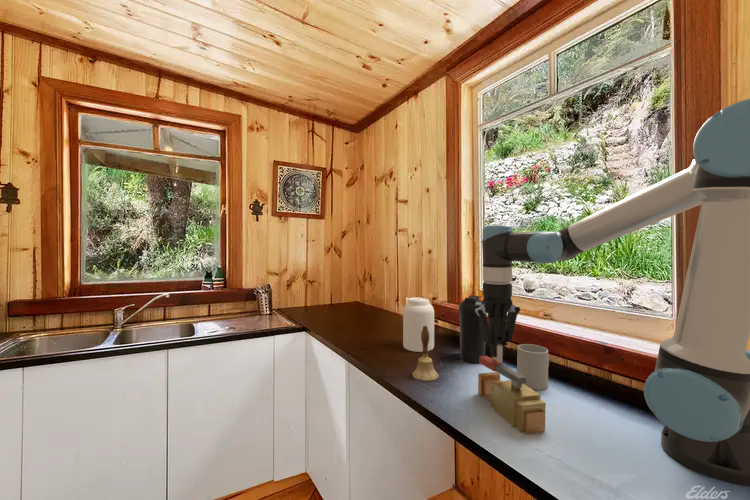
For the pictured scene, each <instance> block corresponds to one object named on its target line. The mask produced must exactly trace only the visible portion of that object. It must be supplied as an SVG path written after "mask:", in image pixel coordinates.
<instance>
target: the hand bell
mask: <svg viewBox="0 0 750 500" xmlns="http://www.w3.org/2000/svg"><path fill="white" fill-rule="evenodd" d="M421 340H422V344H423V352H422V356H421V357H419V358H418V359H417V366H416V369H415V370H414V371H413V372H412V375H411V376H412V377H413V379H416V380H418V381H422V382H431V381H435V380H438V378H439V373H438V372H437V371H436V370H435V368H434V363H433V359H432V358H431V357H429V351H428V343H429V331H428V328H427V326H423V329H422V333H421Z"/></svg>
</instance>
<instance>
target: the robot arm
mask: <svg viewBox="0 0 750 500" xmlns="http://www.w3.org/2000/svg"><path fill="white" fill-rule="evenodd" d="M692 147H693V148H692V150H693V154H692V155H693V157H694V159H692V162H691V163H690V166H689V167H688V168H686V169H685V168H684V169H683V170H681V171H679V172H677V173H675V174H673V175H670V176H669V177H667V178H664V179H663V180H661V181H659V182H657V183H655V184H651V186H648V187H647V188H644V189H642V190H640V191H637V192H635V193H634V194H631V195H630V196H628V197H625V198H623V199H621V200H619V201H617V202H615V203H613V204H610V205H609V206H607V207H605V208H603V209H601V210H599V211H596V212H595V213H592V214H591V215H588V216H586V217H583V218H582V219H580V220H578V221H575V222H574V223H571V224H570V225H568V226H565V227H563V228H561V229H559V230H557V231H547V230H546V231H543V230H539V231H521V232H520V231H518V232H515V231H513V227H512V225H510V224H497V225H493V224H492V225H485V226H484V228H483V229H482V240H481V244H482V247H481V248H482V281H484V282H483V283H482V298H483V299H482V305H481V306H480V307H479V308H475V309H474V312H475V313H476V315H477V316H478V320H479V325H480V329H481V333H482V337H483V341H485V342H486V343H487V344H488V345H489V354H490V356H491V358H492V359H494V360H496V361H498V362H500V363H502V364H503V357H504V356H505V354H506V351H505V348H506V347H507V346H508V343H512V341H513V340H512V339H513V335H514V330H515V326H516V321H517V319H518V318H517V317H518V315H519V313H520V311H521V308H520V306H516V305H515V304H514V303H513V300H512V297H513V284H512V283H511V282H512V281H513V262H522V263H523V262H524V263H537V264H553V263H556V262H567V261H569V260H572V259H575V258H577V257H578V256H579V255H580V254H582V253H584V252H586V251H589V250H591V249H594V248H596V247H598V246H601V245H603V244H606V243H608V242H610V241H613V240H616V239H619V238H621V237H623V236H625V235H628V234H631V233H634V232H636V231H639V230H641V229H642V228H645V227H647V226H651V225H654V224H655V223H658V222H660V221H664V220H665V219H668V218H670V217H673V216H675V215H677V214H681V213H683V212H686V211H688V210H690V209H693V208H696V207H697V206H700V210H699V216H698V219H697V224H696V229H695V234H694V238H693V244H692V247H691V248H692V249H691V253H690V257H689V262H688V267H687V271H686V276H685V281H684V285H683V291H682V296H681V300H680V305H679V309H678V314H677V318H676V323H675V329H674V332H673V336H672V337H669V338H668V339H664V340H663V341H661V342H660V343H659V344H660V345H659V348H658V353H657V358H656V362H655V368H654V371H652V372H651V373H650V375H648V376H647V379H645V383H644V386H643V396H644V399H645V402H646V404H647V407H648V408H649V409H650V411H651V412H652V413H653V415H655V417H656V418H657V420H659V421H660V423H662V424H663V425H664V426H663V428H662V430H661V436H660V444H661V448H662V449H663V451H665V453H667V454H668V455H669V457H671V458H673V459H674V460H675V461H677V462H678V463H680V464H681V465H683V466H685V467H687V468H688V469H690V470H693V471H695V472H697V473H699V474H702V475H705V476H707V477H709V478H712V479H715V480H717V481H721V482H725V483H729V484H732V485H733V484H734V485H737V486H741V487H742V486H743V487H750V349H747V348H748V343H749V341H750V98H747V99H744V100H743V99H742V100H741V101H740V100H739V101H738V102H734V103H732V104H730V105H728V106H726V107H724V108H722V109H720V111H717V112H716V113H715V114H713V115H712V116H710V117H709V118H708V119H707V120H706V121H705V122H704V123H703V124H702V126H701V127H700V128H699V129H698V130H697V133H696V135H695V138H694V141H693V146H692ZM485 310H486V312H487V318H486V316H485V314H486V312H485ZM486 343H485V344H486Z"/></svg>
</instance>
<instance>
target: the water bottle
mask: <svg viewBox="0 0 750 500" xmlns="http://www.w3.org/2000/svg"><path fill="white" fill-rule="evenodd" d="M480 298H482V296H480V295H468V297H465V298H464V299H463V300H461V302H460V303H459V304H458V312H459V343H460V344H459V345H460V346H459V349H460V350H459V351H460V352H459V354H460V360H461V362H463V363H466V364H474V365H478V364H480V363H479V357H480V356H486V342H485V341H483V337H482V333H481V329H480V325H479V320H478V316H477V315H476V313H475V312H474V309H475V308H479V307H480V306H481V305H482V301H483V299H482V300H481V299H480ZM485 312H486V310H485ZM485 316H486V318H487V319H488V313H487V312H486V314H485ZM480 365H481V364H480Z"/></svg>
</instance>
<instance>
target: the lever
mask: <svg viewBox="0 0 750 500" xmlns="http://www.w3.org/2000/svg"><path fill="white" fill-rule="evenodd" d="M479 363H480V365H482V366H484V368H485V367H486V368H488V369H489V370H492V372H498V373H499V374H500V376H503V377H505V378H507V379H509V381H511V389H513V390H515V391H521V390H522V384H526V377H525V376H523V375H521V374H519V373H517V371H515V370H513V369H511V368H509V367H508V366H505V365H503V362H502V363H500V362H498V361H496V360H494V359H492V357H490V356H488V355H485V356H480V357H479Z"/></svg>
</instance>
